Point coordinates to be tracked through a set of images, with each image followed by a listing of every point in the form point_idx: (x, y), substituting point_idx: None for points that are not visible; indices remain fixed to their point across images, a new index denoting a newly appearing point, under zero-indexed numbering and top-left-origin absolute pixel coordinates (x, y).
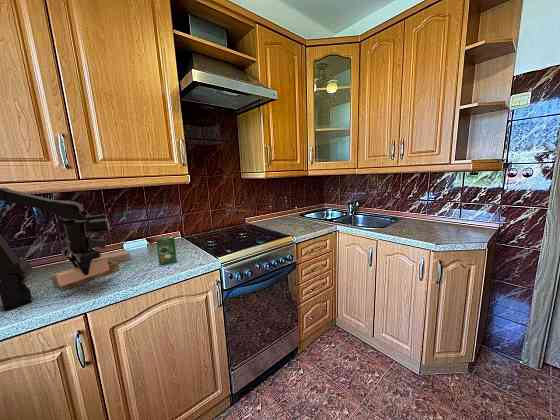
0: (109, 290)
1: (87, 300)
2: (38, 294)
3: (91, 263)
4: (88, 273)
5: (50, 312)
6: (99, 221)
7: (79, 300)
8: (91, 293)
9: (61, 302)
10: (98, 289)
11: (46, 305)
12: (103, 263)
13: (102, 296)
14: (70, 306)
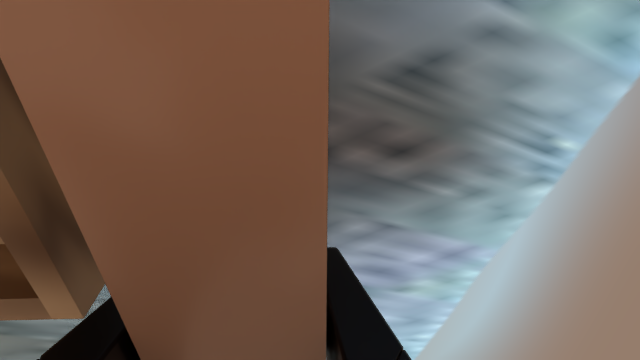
0: (538, 59)
1: (506, 217)
2: (61, 324)
3: (111, 242)
4: (341, 255)
5: (424, 337)
6: None
7: (443, 241)
8: (415, 165)
9: None
10: (394, 104)
11: None
12: (323, 26)
13: (576, 143)
14: (469, 284)
